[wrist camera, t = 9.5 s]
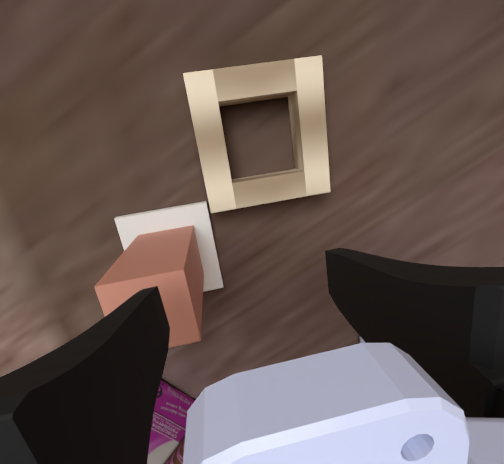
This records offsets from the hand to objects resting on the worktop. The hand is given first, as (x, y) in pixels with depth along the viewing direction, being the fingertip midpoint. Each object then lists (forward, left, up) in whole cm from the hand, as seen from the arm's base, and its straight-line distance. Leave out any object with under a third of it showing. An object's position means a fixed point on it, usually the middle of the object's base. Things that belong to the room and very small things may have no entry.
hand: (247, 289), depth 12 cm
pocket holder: (+6, -3, -10) cm, 12 cm away
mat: (-1, +5, -10) cm, 11 cm away
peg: (-1, +5, -10) cm, 11 cm away
